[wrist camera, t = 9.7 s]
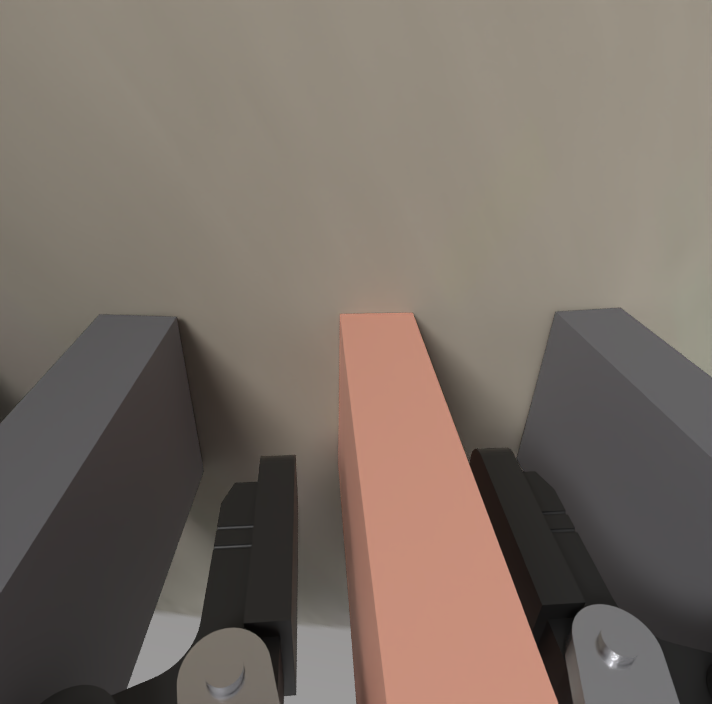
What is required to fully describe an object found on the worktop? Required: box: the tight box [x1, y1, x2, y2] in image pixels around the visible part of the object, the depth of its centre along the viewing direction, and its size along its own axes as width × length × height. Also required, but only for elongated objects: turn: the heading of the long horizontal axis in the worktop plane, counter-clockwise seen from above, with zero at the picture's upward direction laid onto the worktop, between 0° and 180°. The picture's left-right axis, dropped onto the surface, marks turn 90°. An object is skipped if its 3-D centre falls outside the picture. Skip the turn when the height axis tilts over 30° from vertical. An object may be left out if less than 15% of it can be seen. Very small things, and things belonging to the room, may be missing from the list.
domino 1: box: [0, 314, 204, 704], centre depth 10 cm, size 2×5×9 cm, turn 179°
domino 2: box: [338, 313, 558, 704], centre depth 10 cm, size 2×5×9 cm, turn 179°
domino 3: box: [517, 308, 712, 653], centre depth 11 cm, size 2×5×9 cm, turn 178°
